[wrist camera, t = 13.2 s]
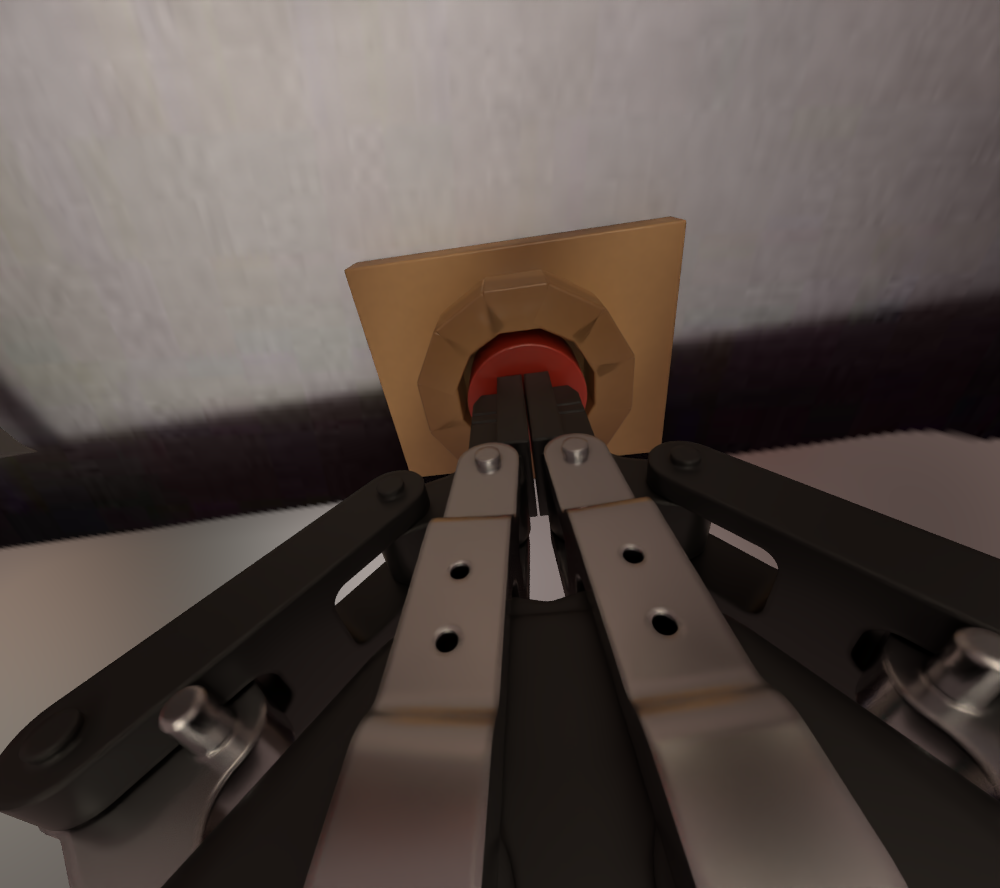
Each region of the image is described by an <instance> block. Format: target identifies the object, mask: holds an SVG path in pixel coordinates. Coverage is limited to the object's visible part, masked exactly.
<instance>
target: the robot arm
mask: <svg viewBox="0 0 1000 888" xmlns="http://www.w3.org/2000/svg"><path fill="white" fill-rule="evenodd" d="M524 385H525V394H526V403H527V413H528V422H529V431H530V440H531V448H532V456H533V464H534V471H535V479H536V487H537V495H538V502H539V511H540V516H543V515H549V522H550V531H551V541H552V545H553V549H554V553H555V557H556V561H557V565H558V569H559V573H560V577H561V581H562V585H563V589H564V593H565V597H563V598H561V599H557V600H554V601H538V600H531V599H529V593H530V592H529V590H530V589H529V588H530V587H529V586H530V540H529V533H530V530H531V526H530V517H535V516H537V508H536V497H535V488H534V479H533V469H532V460H531V451H530V441H529V433H528V425H527V417H526V409H525V401H524V392H523V384H522V376H521V374H520V375H512V376H503V377H497V394H490V395H482V396H480V398H479V399H478V400H477V401H476V402H475V403H474V405H473V412H472V421H471V424H472V425H471V431H470V440H469V449H468V450H467V451H465V452H464V453H463V454H462V455H461V456H460V458H459V460H458V463H457V467H456V471H455V472H454V473H452V474H450V475H448V476H446V477H443V478H441V479H438V480H434V481H431V482H428V483H424V480H423V478H422V476H421V475H419V474H418V473H416V472H413V471H408V470H398V471H392V472H389V473H386V474H383V475H381V476H379V477H377V478H375V479H374V480H372V481H371V482H369V483H368V484H366V485H365V486H363V487H362V488H361V489H359V490H358V491H356V492H355V493H353V494H352V495H351V496H349V497H348V498H346V499H345V500H343V501H342V502H341V503H339V504H338V505H336V506H335V507H333V508H332V509H331V510H329V511H328V512H327V513H325V514H324V515H322V516H321V517H319V518H318V519H316V520H315V521H314V522H312V523H311V524H309V525H308V526H306V527H305V528H304V529H302V530H301V531H299V532H298V533H296V534H295V535H294V536H292V537H291V538H290V539H288V540H286V541H285V542H284V543H282V544H281V545H279V546H278V547H277V548H275V549H274V550H272V551H271V552H270V553H268V554H266V555H265V556H264V557H262V558H261V559H259V560H258V561H256V562H255V563H254V564H252V565H251V566H249V567H248V568H246V569H245V570H244V571H242V572H241V573H240V574H238V575H236V576H235V577H234V578H232V579H231V580H229V581H228V582H226V583H225V584H224V585H222V586H221V587H219V588H218V589H217V590H215V591H214V592H212V593H211V594H210V595H208V596H207V597H205V598H204V599H202V600H201V601H199V602H198V603H197V604H195V605H194V606H192V607H191V608H189V609H188V610H187V611H185V612H184V613H182V614H181V615H179V616H178V617H177V618H175V619H174V620H172V621H171V622H169V623H168V624H167V625H165V626H164V627H162V628H161V629H159V630H158V631H157V632H155V633H154V634H152V635H151V636H149V637H148V638H147V639H145V640H144V641H143V642H141V643H140V644H138V645H137V646H135V647H134V648H132V649H131V650H130V651H128V652H127V653H125V654H124V655H122V656H121V657H120V658H118V659H117V660H115V661H114V662H112V663H111V664H109V665H108V666H107V667H105V668H104V669H102V670H101V671H99V672H98V673H97V674H95V675H94V676H92V677H91V678H90V679H88V680H87V681H85V682H84V683H82V684H81V685H80V686H78V687H77V688H75V689H74V690H72V691H71V692H70V693H68V694H67V695H65V696H64V697H63V698H61V699H60V700H58V701H57V702H55V703H54V704H52V705H51V706H50V707H48V708H47V709H46V710H44V711H43V712H42V713H40V714H39V715H38V716H37V717H36V718H35V719H33V720H32V721H31V722H30V723H29V724H28V725H27V726H26V727H25V728H24V729H23V730H21V731H20V732H19V734H18V735H17V736H16V737H15V738H14V739H13V740H12V741H11V742H10V743H9V745H8V746H7V747H6V749H5V750H4V751H3V752H2V754H1V755H0V812H2V813H4V814H7V815H9V816H12V817H15V818H17V819H20V820H23V821H25V822H28V823H30V824H33V825H36V826H38V827H39V829H40V830H41V831H42V832H43V833H45V834H46V835H49V836H52V837H54V838H57V839H59V840H60V841H61V845H62V850H63V855H64V859H65V865H66V870H67V875H68V880H69V885H70V888H1000V559H998V558H996V557H993V556H990V555H988V554H985V553H983V552H980V551H977V550H975V549H972V548H970V547H967V546H964V545H962V544H959V543H957V542H954V541H951V540H949V539H946V538H944V537H941V536H938V535H936V534H933V533H930V532H928V531H925V530H923V529H920V528H917V527H915V526H912V525H909V524H907V523H904V522H902V521H899V520H897V519H894V518H891V517H889V516H886V515H883V514H881V513H878V512H876V511H873V510H870V509H868V508H865V507H862V506H860V505H857V504H855V503H852V502H850V501H847V500H844V499H842V498H839V497H836V496H834V495H831V494H829V493H826V492H823V491H821V490H818V489H816V488H813V487H810V486H808V485H805V484H803V483H800V482H798V481H795V480H792V479H790V478H787V477H784V476H782V475H779V474H777V473H774V472H771V471H769V470H766V469H764V468H761V467H758V466H756V465H753V464H750V463H748V462H745V461H743V460H740V459H738V458H735V457H732V456H730V455H727V454H724V453H722V452H719V451H717V450H714V449H711V448H709V447H706V446H704V445H701V444H698V443H693V442H687V441H671V442H666V443H662V444H660V445H657V446H656V447H654V448H653V449H652V450H651V451H650V453H649V455H648V460H647V459H636V458H627V457H622V456H618V455H615V454H612V453H610V451H609V449H608V447H607V446H606V444H605V443H604V442H603V441H602V440H601V439H599V438H597V437H595V435H594V433H593V430H592V427H591V425H590V422H589V419H588V417H587V414H586V412H585V409H584V406H583V404H582V401H581V398H580V396H579V393H578V392H577V391H576V390H574V389H573V388H571V387H570V386H569V385H564V386H556V387H552V384H551V380H550V376H549V372H548V371H543V372H535V373H527V374H524ZM711 522H712V523H714V524H716V525H718V526H720V527H722V528H724V529H726V530H728V531H730V532H732V533H734V534H736V535H738V536H740V537H742V538H743V539H745V540H747V541H749V542H751V543H753V544H755V545H757V546H759V547H761V548H762V549H764V550H765V551H767V552H768V553H769V554H770V555H771V556H772V557H773V558H774V559H775V561H776V563H777V565H778V569H776V568H773V567H771V566H769V565H768V564H766V563H764V562H762V561H760V560H758V559H757V558H755V557H753V556H751V555H749V554H747V553H745V552H743V551H742V550H740V549H738V548H736V547H734V546H732V545H730V544H728V543H727V542H725V541H723V540H721V539H719V538H717V537H715V536H714V535H712V534H709V529H710V524H711ZM380 553H382V554H383V556H384V558H385V561H386V562H384V563H383V564H382V565H381V566H380V567H379V568H378V569H376V570H375V571H374V572H373V573H372V574H371V575H370V576H368V577H367V578H366V579H365V580H364V581H363V582H362V583H361V584H359V586H357V587H356V588H355V589H354V590H353V591H351V592H350V593H349V594H348V595H347V596H346V597H345V598H343V599H342V600H341V601H340V602H339V603H338V604H336V605H335V599H336V596H337V594H338V592H339V590H340V589H341V588H342V586H343V585H344V584H345V583H346V582H348V581H349V580H350V579H351V578H352V577H354V576H355V575H356V574H357V573H358V572H359V571H360V570H362V569H363V568H364V567H365V566H366V565H368V564H369V563H370V562H371V561H372V560H373V559H375V558H376V557H377V556H378V555H379V554H380Z"/></svg>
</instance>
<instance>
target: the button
mask: <svg viewBox="0 0 1000 888" xmlns="http://www.w3.org/2000/svg"><path fill="white" fill-rule="evenodd" d="M543 371H548V372H549V376H550V380H551V384H552V387H556V386H564V385H569V386H570V387H571V388H573V389H574V390H576V391H577V392H578V393H579V396H580V398H581V401H582V404H583V406H584V409H585V408H586V403H587V385H586V381H585V378H584V376H583V373H582V371H581V369H580V366H579V364H578V362H577V359H576V357H575V355H574V352H573V351H572V349H571V347H570V346H569V345H568V343H567V342H566V341H565V340H564V339H563V338H562V337H559V336H557V335H555V334H552V333H550V332H547V331H545V330H543V329H540V328H539V329H532V330H524V331H516V332H509V333H501V334H499V335H497V336H496V337H495V338H493V339H492V340H491V341H489V342H488V343H487V344H485V345H484V346H483V347H481V348H480V349H479V350H478V352H477V354H476V356H475V358H474V360H473V364H472V368H471V374H470V381H469V388H468V408H469V412H470V415H471V417H472V412H473V405H474V403H475V402H476V401H477V400H478V399H479V398H480V396H482V395H490V394H497V377H503V376H512V375H520V374H521V376H522V384H523V392H524V401H525V409H526V417H527V425H528V433H529V441H530V450H532V448H531V440H530V431H529V422H528V413H527V403H526V394H525V385H524V374H527V373H535V372H543Z"/></svg>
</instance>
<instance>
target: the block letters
mask: <svg viewBox="0 0 1000 888" xmlns="http://www.w3.org/2000/svg"><path fill="white" fill-rule="evenodd" d="M33 452H38V451H36V450H33V449H31V448H28V447H26V446H24V445H22V444H21V443H19V442H18V441H17V440H15V439H14V438H13V437H12V436H10V435H9V434H8V433H7V432H6V431H4V430H3V429H2V428H1V427H0V458H4V457H10V456H15V455H21V454H27V453H33Z"/></svg>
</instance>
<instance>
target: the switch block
mask: <svg viewBox="0 0 1000 888" xmlns="http://www.w3.org/2000/svg"><path fill="white" fill-rule="evenodd" d="M685 229H686V220H683V219H679V218H675V217H671V216H670V217H664V218H657V219H650V220H643V221H636V222H630V223H623V224H616V225H609V226H602V227H595V228H589V229H582V230H575V231H568V232H561V233H555V234H548V235H541V236H534V237H527V238H521V239H514V240H507V241H500V242H493V243H487V244H480V245H473V246H466V247H459V248H452V249H446V250H439V251H432V252H425V253H418V254H412V255H405V256H398V257H391V258H384V259H378V260H371V261H364V262H357V263H355V264H353V265H352V266H350V267H348V268H347V269H345V274H346V278H347V281H348V284H349V287H350V290H351V293H352V296H353V299H354V302H355V305H356V308H357V311H358V314H359V318H360V321H361V324H362V327H363V330H364V333H365V336H366V339H367V342H368V345H369V348H370V351H371V354H372V357H373V361H374V364H375V367H376V370H377V373H378V376H379V379H380V382H381V385H382V388H383V391H384V394H385V397H386V400H387V404H388V407H389V410H390V413H391V416H392V419H393V422H394V425H395V428H396V431H397V434H398V437H399V440H400V444H401V447H402V450H403V453H404V456H405V459H406V462H407V465H408V468H409V471H413V472H416V473H418V474H419V475H421V476H422V477H423V476H432V475H442V474H451V473H454V472H455V471H456V467H457V463H458V460H459V458H460V456H461V455H462V454H463V453H464V452H465V451H467V450H468V449H469V440H470V431H471V425H472V424H471V421H472V417H471V415H470V412H469V408H468V388H469V381H470V374H471V368H472V364H473V360H474V358H475V356H476V354H477V352H478V350H479V349H480V348H481V347H483V346H484V345H485V344H487V343H488V342H489V341H491V340H492V339H493V338H495V337H496V336H497V335H499V334H501V333H509V332H516V331H524V330H532V329H539V328H540V329H543V330H545V331H547V332H550V333H552V334H555V335H557V336H559V337H562V338H563V339H564V340H565V341H566V342H567V343H568V345H569V346H570V347H571V349H572V351H573V352H574V355H575V357H576V359H577V362H578V364H579V366H580V369H581V371H582V373H583V376H584V378H585V381H586V385H587V403H586V408H585V412H586V414H587V417H588V419H589V422H590V425H591V427H592V430H593V433H594V435H595V437H597V438H599V439H601V440H602V441H603V442H604V443H605V444H606V446H607V447H608V449H609V451H610V453H612V454H615V455H618V456H619V455H628V454H637V453H647V452H650V451H651V450H652V449H653V448H654V447H656V446H657V445H660V444H661V442H662V433H663V424H664V415H665V406H666V397H667V388H668V380H669V371H670V362H671V353H672V344H673V335H674V326H675V318H676V309H677V300H678V291H679V282H680V273H681V264H682V255H683V247H684V238H685ZM530 451H531V460H532V469H533V479H534V478H535V471H534V464H533V456H532V450H530Z"/></svg>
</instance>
